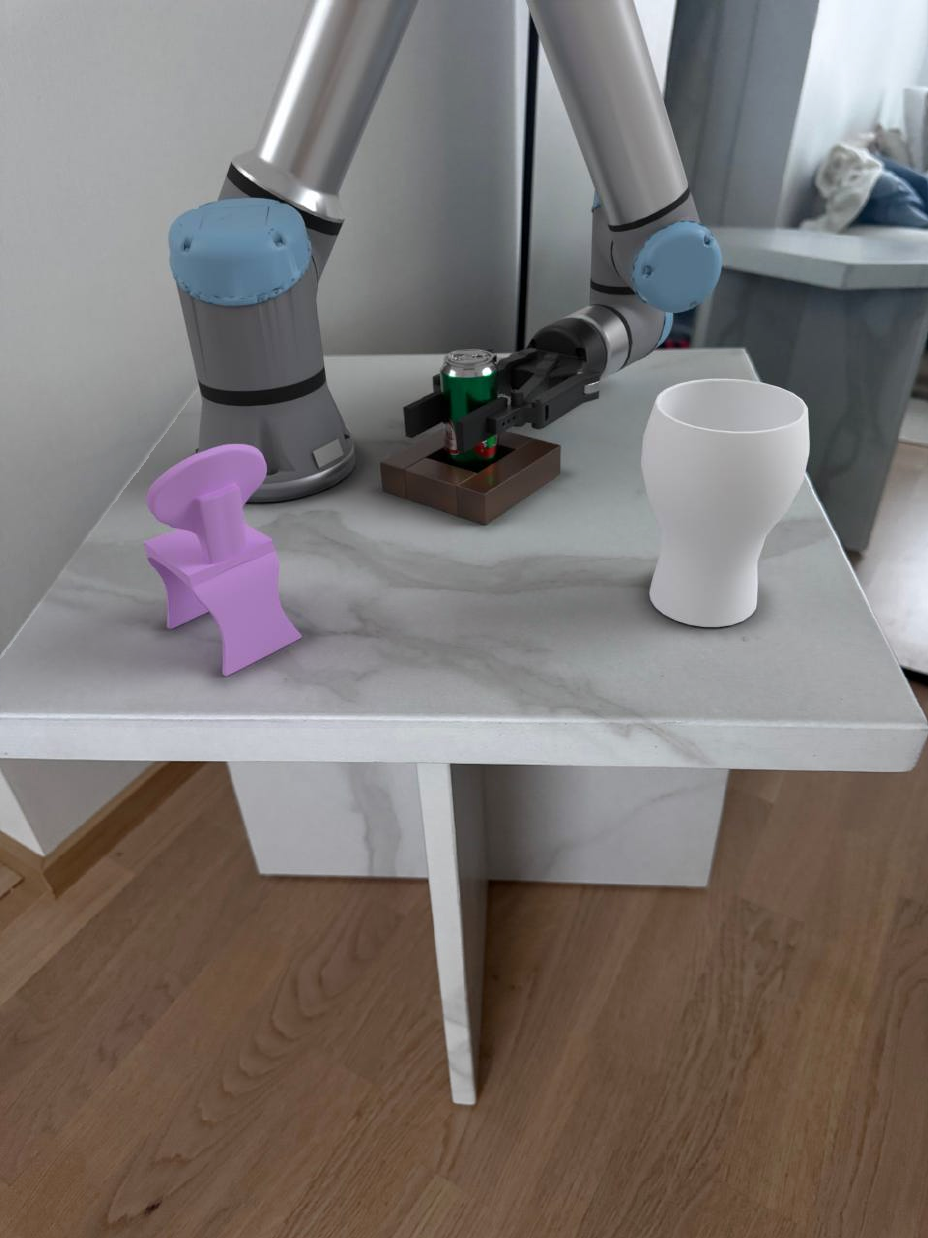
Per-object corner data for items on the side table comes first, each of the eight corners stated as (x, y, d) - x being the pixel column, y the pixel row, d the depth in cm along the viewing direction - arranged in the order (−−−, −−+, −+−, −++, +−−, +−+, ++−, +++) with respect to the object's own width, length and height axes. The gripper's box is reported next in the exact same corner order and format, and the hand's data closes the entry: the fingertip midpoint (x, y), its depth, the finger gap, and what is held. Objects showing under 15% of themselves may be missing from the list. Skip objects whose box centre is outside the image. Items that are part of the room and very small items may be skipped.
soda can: (444, 472, 83) (437, 348, 76) (496, 469, 83) (494, 345, 77) (447, 496, 79) (440, 368, 72) (502, 492, 79) (500, 364, 72)
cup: (784, 647, 59) (828, 440, 50) (626, 633, 61) (643, 433, 52) (771, 566, 67) (807, 377, 59) (632, 556, 69) (648, 372, 61)
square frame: (382, 490, 81) (379, 461, 79) (460, 446, 88) (459, 418, 86) (485, 525, 74) (484, 494, 73) (560, 474, 82) (561, 444, 80)
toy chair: (249, 586, 68) (209, 402, 59) (313, 631, 62) (280, 437, 54) (151, 630, 63) (93, 439, 55) (212, 684, 58) (157, 481, 49)
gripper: (652, 405, 86) (520, 495, 71) (504, 373, 95) (360, 447, 81) (659, 329, 82) (520, 408, 67) (503, 304, 91) (351, 368, 76)
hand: (433, 429), depth 74 cm, fingers closed on soda can, 5 cm apart
